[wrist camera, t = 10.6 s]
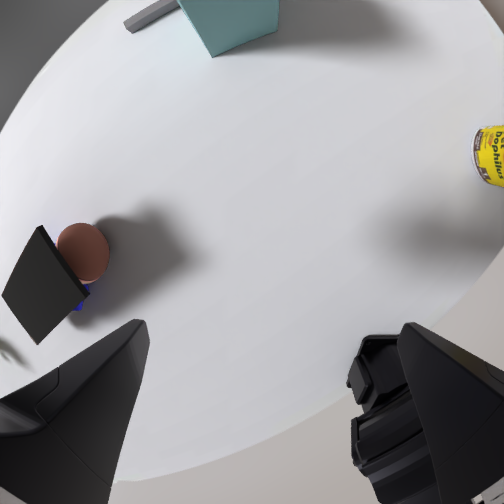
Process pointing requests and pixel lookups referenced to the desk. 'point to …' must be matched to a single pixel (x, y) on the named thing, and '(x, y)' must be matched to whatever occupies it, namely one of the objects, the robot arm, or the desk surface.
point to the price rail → (150, 14)
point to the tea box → (230, 21)
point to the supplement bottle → (489, 154)
